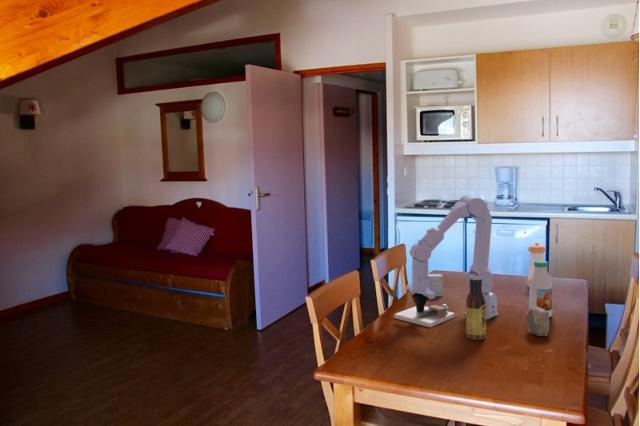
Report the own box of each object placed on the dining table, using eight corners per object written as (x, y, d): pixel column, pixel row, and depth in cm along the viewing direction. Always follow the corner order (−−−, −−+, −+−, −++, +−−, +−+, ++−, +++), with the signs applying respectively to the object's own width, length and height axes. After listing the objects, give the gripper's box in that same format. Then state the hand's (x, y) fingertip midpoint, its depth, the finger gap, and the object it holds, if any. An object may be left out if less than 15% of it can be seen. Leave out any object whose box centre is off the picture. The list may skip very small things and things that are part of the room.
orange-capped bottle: (527, 288, 240) (528, 244, 237) (526, 284, 247) (527, 241, 244) (546, 289, 238) (547, 244, 235) (544, 284, 245) (545, 241, 242)
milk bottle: (527, 317, 202) (528, 263, 200) (530, 311, 209) (531, 258, 207) (550, 319, 199) (551, 264, 196) (552, 313, 206) (553, 260, 203)
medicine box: (441, 293, 237) (441, 273, 235) (443, 296, 232) (442, 276, 231) (422, 294, 237) (422, 274, 236) (423, 297, 233) (423, 276, 232)
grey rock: (535, 344, 182) (531, 319, 179) (520, 332, 190) (515, 308, 187) (560, 333, 184) (556, 308, 180) (544, 321, 192) (539, 297, 188)
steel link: (445, 310, 208) (445, 302, 207) (450, 313, 205) (450, 305, 205) (415, 315, 203) (415, 307, 203) (420, 318, 200) (420, 310, 200)
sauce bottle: (486, 341, 180) (487, 281, 178) (466, 340, 182) (466, 280, 179) (485, 334, 187) (485, 276, 184) (465, 333, 188) (465, 275, 185)
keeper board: (454, 317, 206) (454, 304, 205) (430, 327, 195) (430, 314, 195) (419, 308, 217) (419, 296, 217) (394, 317, 207) (394, 305, 206)
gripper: (399, 274, 207) (399, 310, 208) (423, 282, 194) (423, 320, 196) (415, 271, 210) (415, 307, 212) (440, 280, 197) (440, 317, 199)
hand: (420, 313), depth 204 cm, fingers closed, pressing on steel link
